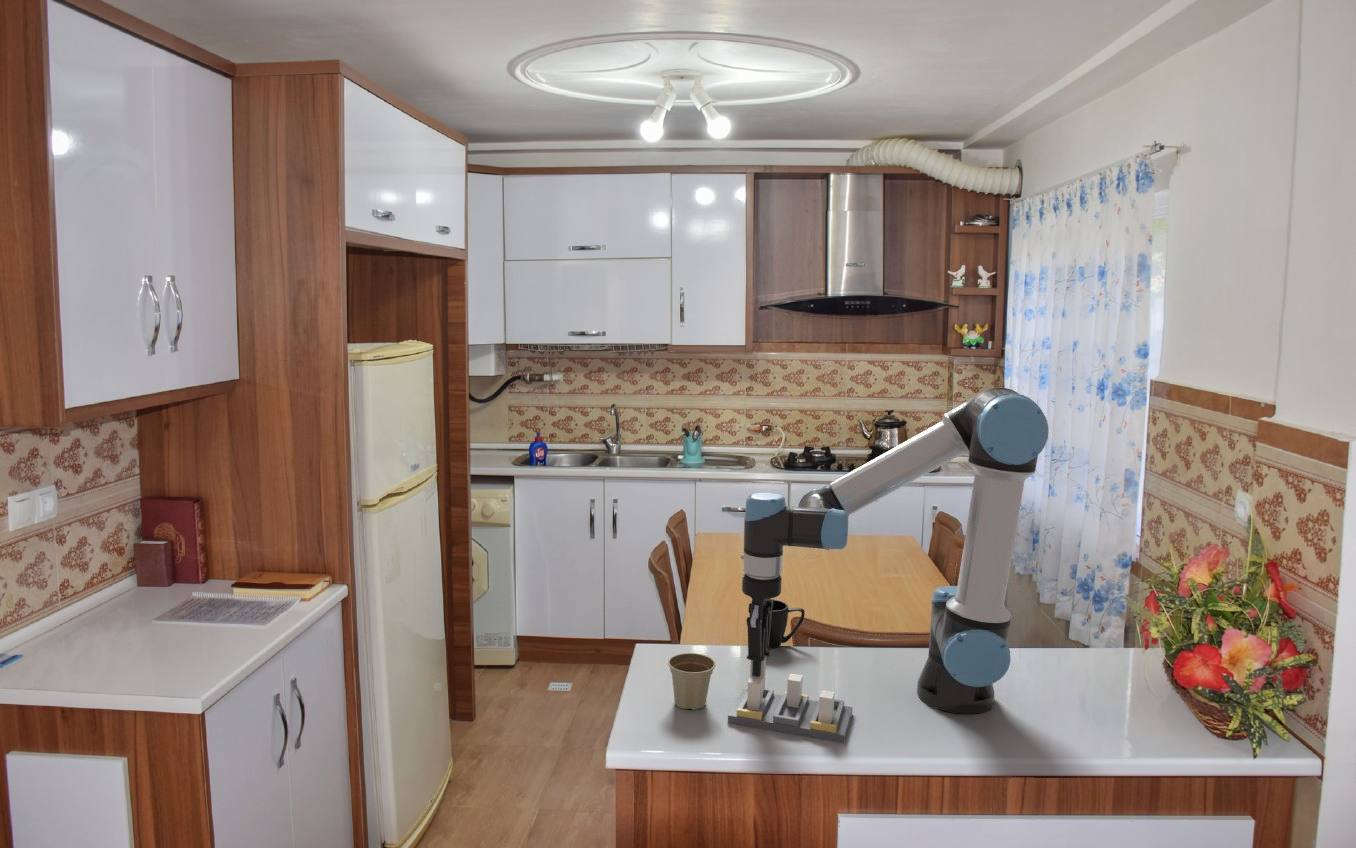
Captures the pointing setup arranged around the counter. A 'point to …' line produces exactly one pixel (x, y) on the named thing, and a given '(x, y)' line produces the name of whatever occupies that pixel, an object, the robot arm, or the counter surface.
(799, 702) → the tab
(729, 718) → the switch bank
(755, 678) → the tab
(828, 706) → the tab
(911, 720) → the counter surface
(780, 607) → the mug
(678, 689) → the flower pot
